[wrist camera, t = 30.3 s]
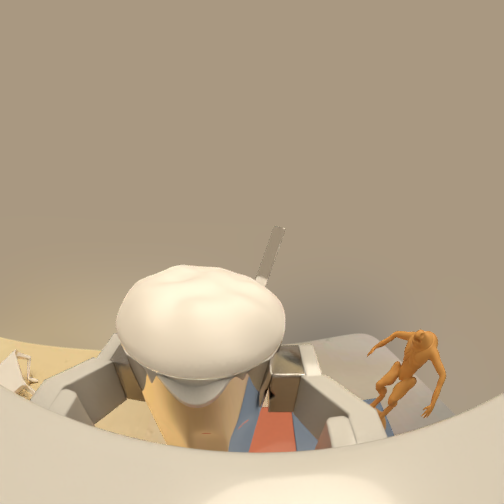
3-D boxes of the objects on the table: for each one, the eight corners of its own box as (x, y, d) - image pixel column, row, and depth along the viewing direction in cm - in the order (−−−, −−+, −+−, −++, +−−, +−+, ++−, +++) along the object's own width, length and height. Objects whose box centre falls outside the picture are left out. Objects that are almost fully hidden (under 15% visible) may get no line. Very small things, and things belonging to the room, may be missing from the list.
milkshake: (293, 448, 10) (345, 245, 7) (204, 513, 7) (156, 313, 3) (228, 400, 13) (233, 214, 10) (144, 445, 10) (86, 237, 6)
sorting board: (376, 401, 24) (378, 397, 23) (417, 507, 10) (420, 505, 10) (194, 406, 23) (193, 403, 23) (170, 531, 10) (168, 530, 10)
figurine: (319, 415, 22) (349, 311, 18) (369, 397, 23) (406, 299, 20) (358, 479, 14) (425, 385, 11) (411, 451, 16) (477, 352, 12)
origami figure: (65, 442, 16) (42, 410, 14) (2, 450, 11) (-25, 419, 9) (54, 367, 25) (40, 336, 23) (4, 377, 20) (-12, 346, 18)
